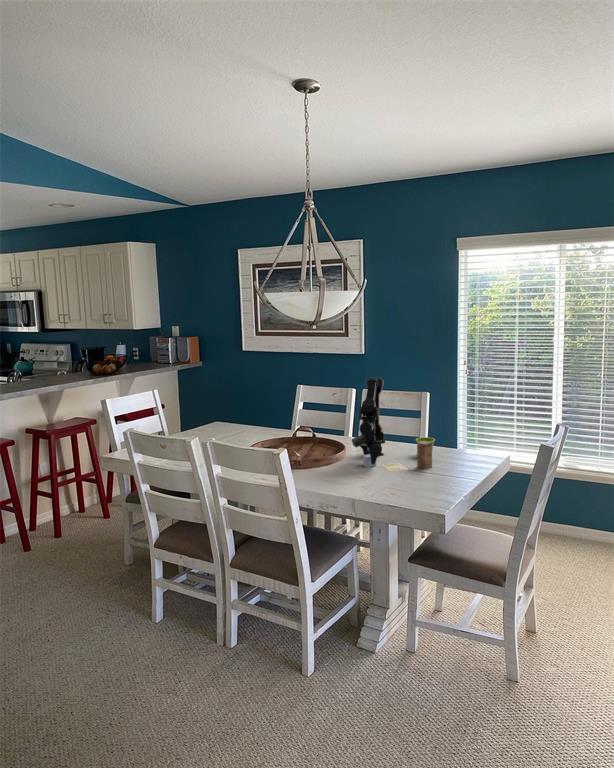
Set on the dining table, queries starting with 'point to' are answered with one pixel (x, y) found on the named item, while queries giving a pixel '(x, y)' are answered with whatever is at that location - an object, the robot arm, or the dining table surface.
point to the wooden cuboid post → (424, 455)
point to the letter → (395, 467)
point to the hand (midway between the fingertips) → (369, 462)
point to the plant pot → (426, 440)
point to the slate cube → (367, 461)
